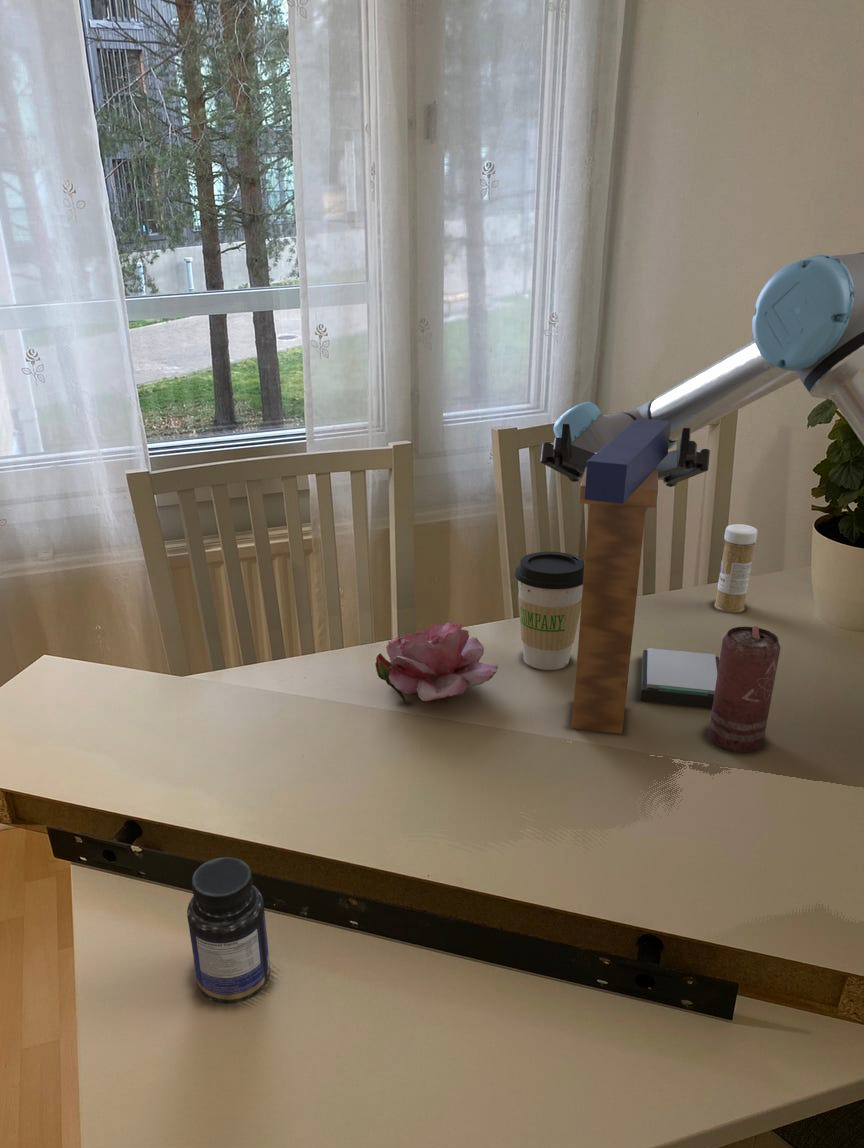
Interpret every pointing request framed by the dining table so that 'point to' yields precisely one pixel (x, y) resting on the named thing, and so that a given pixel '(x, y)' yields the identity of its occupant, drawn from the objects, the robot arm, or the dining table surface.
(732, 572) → the sprinkles bottle
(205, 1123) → the dining table surface
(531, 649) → the coffee cup
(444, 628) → the flower
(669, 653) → the scale
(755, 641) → the can
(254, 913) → the pill bottle
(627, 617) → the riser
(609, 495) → the spaghetti box
